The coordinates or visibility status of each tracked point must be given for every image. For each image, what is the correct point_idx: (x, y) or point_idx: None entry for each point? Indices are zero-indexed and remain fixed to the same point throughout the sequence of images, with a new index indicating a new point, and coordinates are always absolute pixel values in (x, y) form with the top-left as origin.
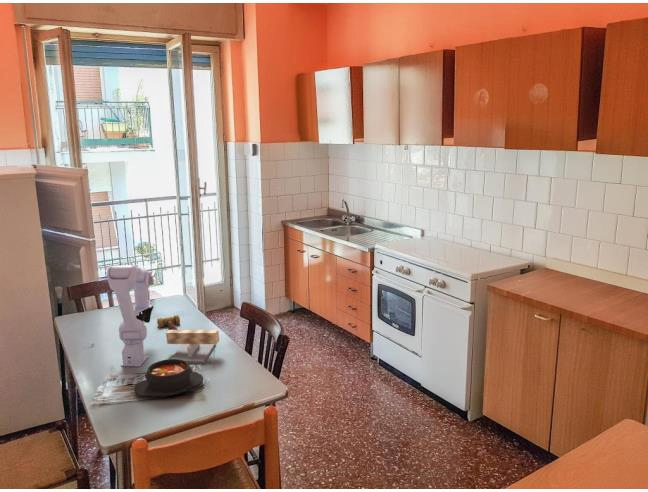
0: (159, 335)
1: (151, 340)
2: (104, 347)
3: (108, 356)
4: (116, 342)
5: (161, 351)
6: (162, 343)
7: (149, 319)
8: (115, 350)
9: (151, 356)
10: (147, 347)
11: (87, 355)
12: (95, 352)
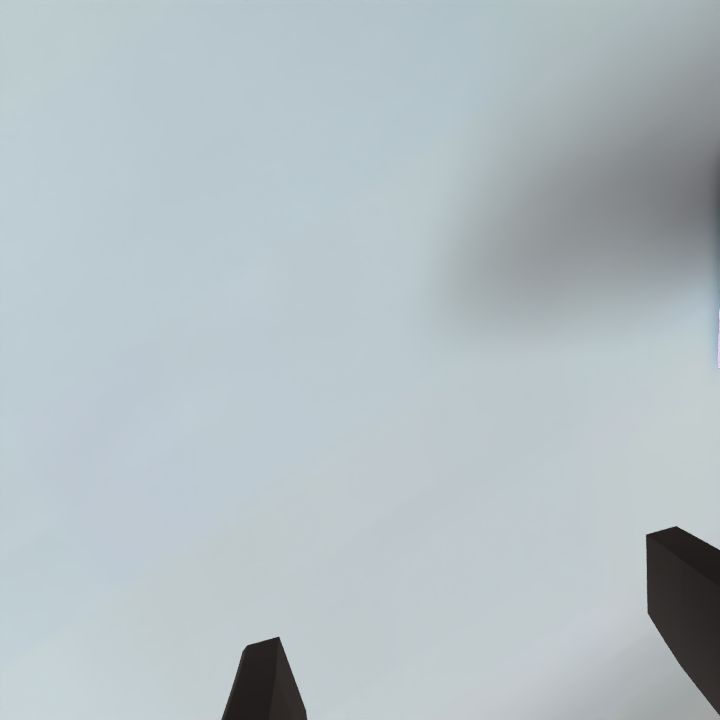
0: (3, 442)
1: (208, 434)
2: (520, 714)
3: None
4: (387, 708)
5: (518, 66)
6: (246, 228)
7: (272, 702)
8: (571, 597)
9: (693, 115)
10: (430, 345)
11: (696, 711)
12: (633, 703)
